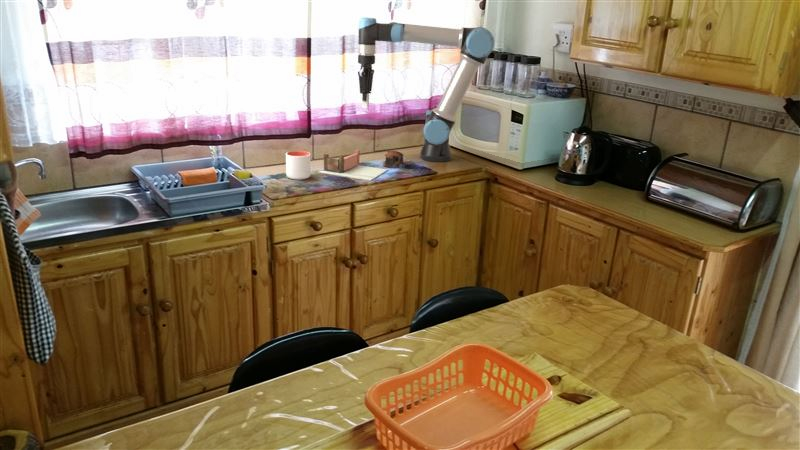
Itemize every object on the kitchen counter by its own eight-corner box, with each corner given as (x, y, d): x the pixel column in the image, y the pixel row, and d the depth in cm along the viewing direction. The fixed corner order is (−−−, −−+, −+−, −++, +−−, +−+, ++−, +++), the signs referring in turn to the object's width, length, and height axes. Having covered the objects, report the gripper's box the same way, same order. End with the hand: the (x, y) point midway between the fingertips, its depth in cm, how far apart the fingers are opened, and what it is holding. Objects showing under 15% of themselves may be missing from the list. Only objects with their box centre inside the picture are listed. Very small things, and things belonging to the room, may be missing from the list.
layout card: (387, 170, 283) (387, 169, 282) (370, 180, 266) (370, 179, 266) (337, 163, 291) (337, 162, 290) (318, 172, 274) (318, 171, 274)
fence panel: (344, 171, 275) (344, 156, 273) (341, 170, 275) (341, 155, 273) (359, 164, 286) (359, 150, 284) (356, 164, 287) (356, 149, 285)
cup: (307, 173, 272) (307, 150, 269) (312, 179, 263) (312, 156, 260) (284, 174, 269) (284, 151, 266) (288, 181, 260) (288, 157, 257)
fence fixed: (344, 173, 275) (344, 156, 272) (342, 174, 273) (342, 157, 271) (325, 170, 278) (325, 153, 275) (323, 171, 276) (323, 154, 274)
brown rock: (377, 166, 291) (382, 149, 292) (393, 173, 296) (398, 156, 298) (392, 165, 281) (397, 148, 282) (408, 173, 287) (413, 155, 288)
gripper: (364, 52, 288) (363, 105, 296) (352, 54, 277) (351, 109, 285) (380, 54, 286) (378, 106, 294) (368, 56, 274) (367, 111, 282)
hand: (365, 108), depth 289 cm, fingers closed
